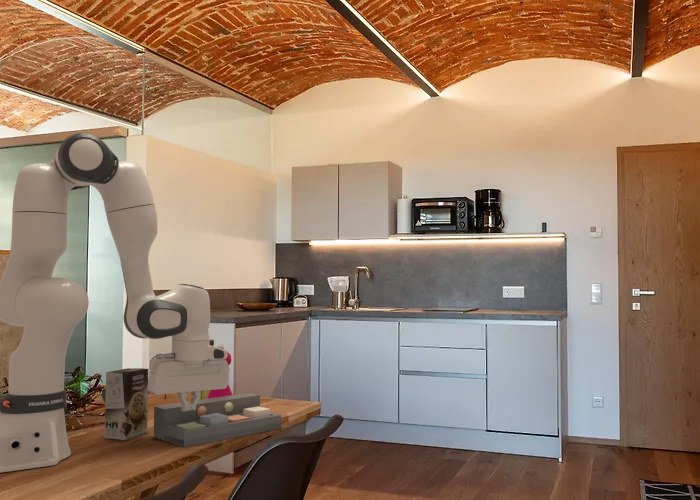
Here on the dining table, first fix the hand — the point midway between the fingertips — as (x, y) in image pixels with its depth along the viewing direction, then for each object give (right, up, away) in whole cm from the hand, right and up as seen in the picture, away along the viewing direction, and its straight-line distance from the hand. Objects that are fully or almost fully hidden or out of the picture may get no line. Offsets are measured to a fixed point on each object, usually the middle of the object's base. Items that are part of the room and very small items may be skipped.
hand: (188, 410), depth 165 cm
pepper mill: (+2, -9, +30) cm, 31 cm away
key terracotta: (+10, -6, +10) cm, 15 cm away
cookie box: (-17, -8, +6) cm, 19 cm away
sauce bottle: (-5, -9, +47) cm, 48 cm away
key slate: (+5, -4, +5) cm, 8 cm away
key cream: (+14, -5, +14) cm, 21 cm away
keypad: (+6, -8, +9) cm, 13 cm away
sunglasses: (-29, -10, +54) cm, 62 cm away
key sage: (0, -6, 0) cm, 6 cm away
